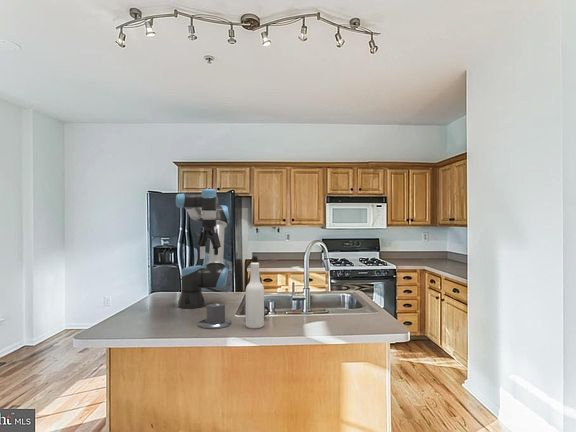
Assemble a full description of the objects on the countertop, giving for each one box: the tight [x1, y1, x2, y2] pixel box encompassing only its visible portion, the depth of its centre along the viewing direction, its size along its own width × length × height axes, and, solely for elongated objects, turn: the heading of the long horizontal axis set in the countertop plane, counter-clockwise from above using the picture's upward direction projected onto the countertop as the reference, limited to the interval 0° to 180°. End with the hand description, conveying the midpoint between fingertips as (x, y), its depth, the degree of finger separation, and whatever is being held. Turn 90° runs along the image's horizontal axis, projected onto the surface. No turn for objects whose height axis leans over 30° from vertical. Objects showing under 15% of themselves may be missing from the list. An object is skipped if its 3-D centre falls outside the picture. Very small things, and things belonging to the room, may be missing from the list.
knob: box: [206, 302, 226, 324], centre depth 178 cm, size 6×6×9 cm
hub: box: [197, 317, 233, 330], centre depth 178 cm, size 16×16×7 cm
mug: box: [264, 300, 270, 320], centre depth 187 cm, size 9×12×9 cm
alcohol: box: [245, 262, 265, 330], centre depth 175 cm, size 9×9×30 cm
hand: (208, 260), depth 190 cm, fingers open, 13 cm apart
